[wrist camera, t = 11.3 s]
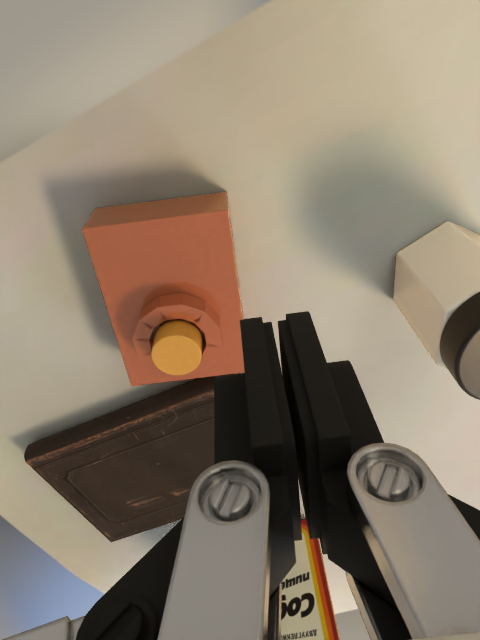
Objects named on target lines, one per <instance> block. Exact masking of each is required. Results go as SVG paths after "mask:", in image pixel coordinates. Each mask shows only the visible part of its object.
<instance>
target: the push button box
mask: <svg viewBox="0 0 480 640" xmlns="http://www.w3.org/2000/svg"><path fill="white" fill-rule="evenodd" d="M82 231H83V234H84V237H85V241H86V244H87V247H88V250H89V253H90V256H91V260H92V263H93V266H94V269H95V272H96V275H97V278H98V282H99V285H100V288H101V291H102V294H103V297H104V301H105V304H106V307H107V310H108V313H109V316H110V320H111V323H112V326H113V329H114V332H115V335H116V338H117V342H118V345H119V348H120V351H121V354H122V357H123V361H124V364H125V367H126V370H127V373H128V376H129V379H130V383H131V386H136V385H144V384H153V383H161V382H169V381H177V380H185V379H194V378H202V377H210V376H218V375H226V374H235V373H243V372H245V371H244V360H243V350H242V339H241V328H240V320H243V319H244V318H243V311H242V303H241V295H240V288H239V280H238V272H237V265H236V257H235V249H234V242H233V234H232V226H231V219H230V211H229V203H228V196H227V192H219V193H211V194H204V195H196V196H188V197H181V198H173V199H165V200H157V201H150V202H142V203H134V204H126V205H119V206H111V207H103V208H96V209H95V210H94V211H93V213H92V214H91V216H90V217H89V219H88V220H87V222H86V223H85V225H84V226H83V228H82ZM173 320H182V321H186V322H189V323H191V324H192V325H194V326H195V327H196V328H197V329H198V330H199V332H200V333H201V336H202V359H201V362H200V364H199V365H198V367H197V368H196V369H195V370H193V371H192V372H190V373H188V374H185V375H170V374H167V373H164V372H162V371H161V370H159V369H158V368H157V367H156V366H155V364H154V363H153V361H152V357H151V351H152V346H153V340H154V335H155V333H156V331H157V329H158V328H159V327H160V326H161V325H163V324H164V323H166V322H169V321H173Z"/></svg>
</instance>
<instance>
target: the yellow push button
mask: <svg viewBox="0 0 480 640" xmlns="http://www.w3.org/2000/svg"><path fill="white" fill-rule="evenodd" d="M151 357H152V361H153V363H154V364H155V366H156V367H157V368H158V369H159V370H161V371H162V372H164V373H167V374H170V375H185V374H188V373H190V372H192V371H193V370H195V369H196V368H197V367H198V365H199V364H200V362H201V359H202V336H201V333H200V332H199V330H198V329H197V328H196V327H195V326H194V325H192V324H191V323H189V322H186V321H182V320H173V321H169V322H166V323H164V324H163V325H161V326H160V327H159V328H158V329H157V331H156V333H155V335H154V340H153V346H152V351H151Z"/></svg>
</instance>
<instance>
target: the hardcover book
mask: <svg viewBox="0 0 480 640" xmlns="http://www.w3.org/2000/svg"><path fill="white" fill-rule="evenodd" d="M235 374H240V373H235ZM226 375H232V374H226ZM218 376H224V375H218ZM215 377H216V376H210V377H202V378H200V379H197V380H195V381H192V382H189V383H187V384H184V385H182V386H179V387H176V388H174V389H171V390H169V391H166V392H164V393H161V394H158V395H156V396H153V397H151V398H148V399H145V400H143V401H140V402H138V403H135V404H133V405H130V406H127V407H125V408H122V409H120V410H117V411H114V412H112V413H109V414H107V415H104V416H102V417H99V418H96V419H94V420H91V421H89V422H86V423H83V424H81V425H78V426H76V427H73V428H71V429H68V430H65V431H63V432H60V433H58V434H55V435H52V436H50V437H47V438H45V439H42V440H40V441H37V442H34V443H32V444H30V445H28V447H27V449H26V451H25V454H24V458H25V461H26V463H28V464H29V465H30V466H31V467H32V468H33V469H34V470H35V471H36V472H37V473H38V474H39V475H40V476H41V477H42V478H43V479H45V480H46V481H47V482H48V483H49V484H50V485H51V486H52V487H53V488H54V489H55V490H56V491H57V492H58V493H59V494H60V495H62V496H63V497H64V498H65V499H66V500H67V501H68V502H69V503H70V504H71V505H72V506H73V507H74V508H75V509H76V510H78V511H79V512H80V513H81V514H82V515H83V516H84V517H85V518H86V519H87V520H88V521H89V522H90V523H91V524H92V525H93V526H95V527H96V528H97V529H98V530H99V531H100V532H101V533H102V534H103V535H104V536H105V537H106V538H107V539H108V540H109V541H111V542H113V541H116V540H119V539H122V538H125V537H128V536H131V535H134V534H137V533H141V532H144V531H147V530H150V529H153V528H156V527H159V526H162V525H165V524H168V523H171V522H174V521H177V520H180V519H183V518H184V517H185V513H186V508H187V504H188V499H189V494H190V491H191V488H192V486H193V483H194V481H195V480H196V479H197V478H198V476H199V475H200V474H201V473H202V472H203V471H205V470H206V469H208V468H209V467H210V466H212V465H214V378H215Z"/></svg>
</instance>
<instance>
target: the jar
mask: <svg viewBox="0 0 480 640" xmlns="http://www.w3.org/2000/svg"><path fill="white" fill-rule="evenodd" d="M393 301H394V302H395V304H396V305H397V307H398V308H399V310H400V311H401V313H402V314H403V315H404V317H405V318H406V320H407V321H408V323H409V324H410V326H411V327H412V329H413V330H414V332H415V333H416V335H417V336H418V338H419V339H420V341H421V342H422V344H423V345H424V347H425V348H426V349H427V351H428V352H429V354H430V355H431V357H432V358H433V360H434V361H435V363H436V364H437V365H439V366H441V367H444V368H447V369H448V370H449V371H450V373H451V374H452V376H453V377H454V379H455V380H456V381H457V383H458V384H459V386H460V387H461V388H462V389H463V390H464V391H465V392H466V393H467V394H469V395H470V396H472V397H474V398H476V399H479V400H480V235H478V234H476V233H474V232H472V231H469V230H467V229H465V228H463V227H461V226H458V225H456V224H454V223H452V222H450V221H447V222H445V223H443V224H442V225H440V226H439V227H437V228H436V229H434V230H432V231H431V232H429V233H428V234H426V235H424V236H423V237H421V238H420V239H418V240H417V241H415V242H413V243H412V244H410V245H409V246H407V247H406V248H404V249H402V250H401V251H399V252H398V253H397V255H396V267H395V281H394V295H393Z"/></svg>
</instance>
